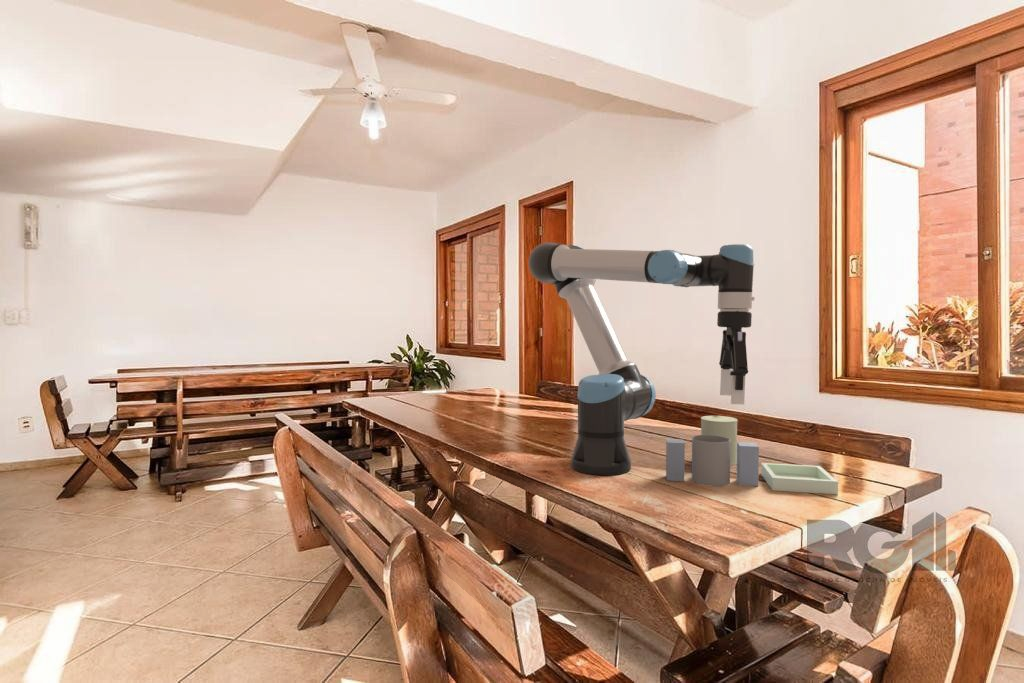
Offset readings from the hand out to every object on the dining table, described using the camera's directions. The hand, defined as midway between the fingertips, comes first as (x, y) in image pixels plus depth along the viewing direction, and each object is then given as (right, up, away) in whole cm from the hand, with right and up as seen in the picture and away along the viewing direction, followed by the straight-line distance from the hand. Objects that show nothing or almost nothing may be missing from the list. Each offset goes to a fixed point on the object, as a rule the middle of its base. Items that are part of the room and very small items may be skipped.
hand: (731, 399), depth 133 cm
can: (+2, -18, +15) cm, 23 cm away
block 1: (-14, -19, -1) cm, 23 cm away
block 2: (+2, -19, -5) cm, 19 cm away
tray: (+13, -19, -6) cm, 23 cm away
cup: (-6, -19, -3) cm, 20 cm away
